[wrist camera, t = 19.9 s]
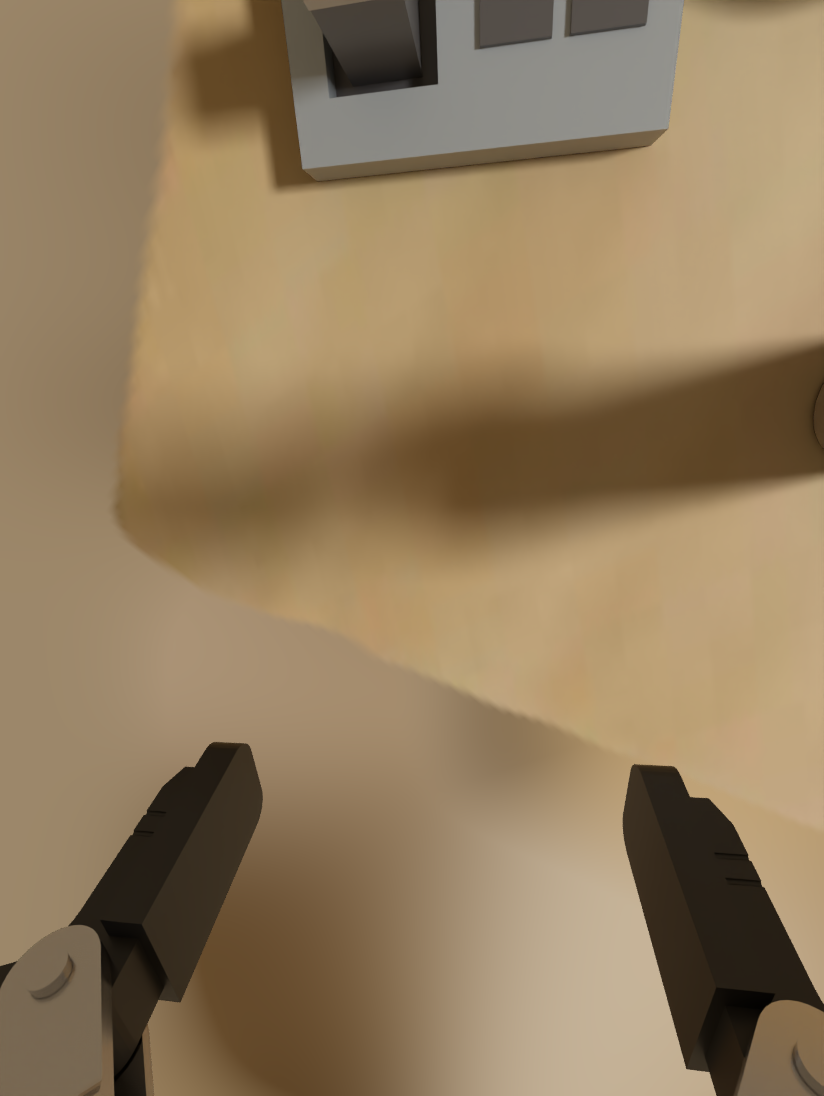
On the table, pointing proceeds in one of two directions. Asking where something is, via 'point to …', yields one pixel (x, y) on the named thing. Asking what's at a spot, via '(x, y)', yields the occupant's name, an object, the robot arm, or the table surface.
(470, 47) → the power strip
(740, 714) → the table surface
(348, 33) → the plug
